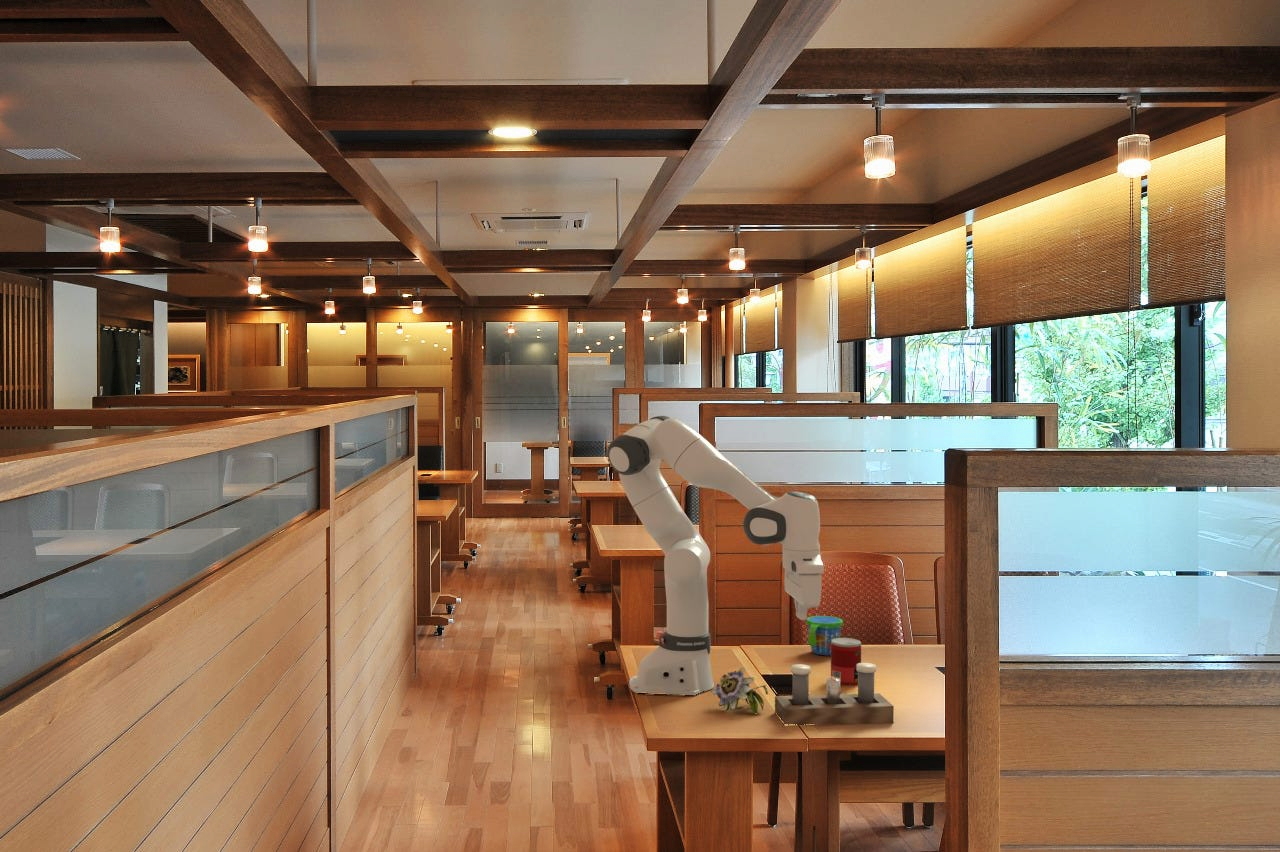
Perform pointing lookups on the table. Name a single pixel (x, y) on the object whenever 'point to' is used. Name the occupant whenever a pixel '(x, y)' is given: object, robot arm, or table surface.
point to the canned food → (845, 660)
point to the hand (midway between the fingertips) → (801, 618)
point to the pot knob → (833, 690)
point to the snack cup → (823, 633)
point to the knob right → (865, 682)
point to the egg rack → (834, 710)
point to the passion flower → (737, 691)
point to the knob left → (800, 684)
